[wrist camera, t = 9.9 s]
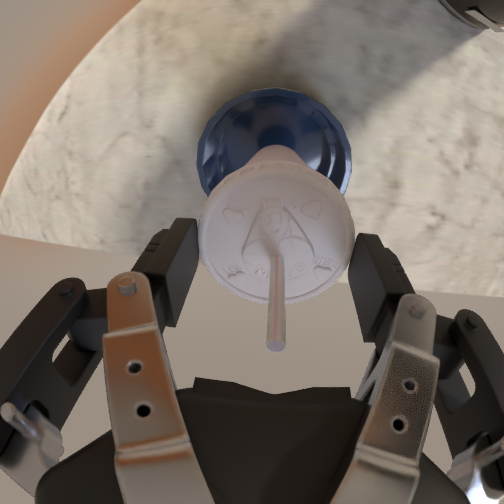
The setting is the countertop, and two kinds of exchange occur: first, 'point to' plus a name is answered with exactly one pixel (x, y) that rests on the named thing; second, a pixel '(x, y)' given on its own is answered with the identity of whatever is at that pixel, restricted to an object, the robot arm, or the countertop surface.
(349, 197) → the countertop surface
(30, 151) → the countertop surface
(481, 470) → the robot arm
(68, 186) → the countertop surface
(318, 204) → the smoothie
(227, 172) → the bowl
